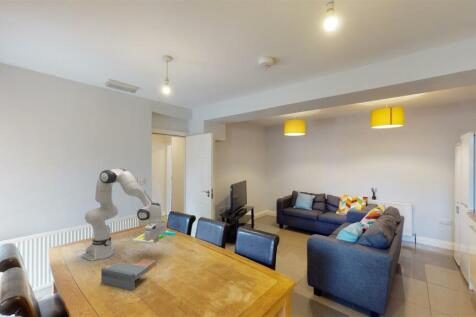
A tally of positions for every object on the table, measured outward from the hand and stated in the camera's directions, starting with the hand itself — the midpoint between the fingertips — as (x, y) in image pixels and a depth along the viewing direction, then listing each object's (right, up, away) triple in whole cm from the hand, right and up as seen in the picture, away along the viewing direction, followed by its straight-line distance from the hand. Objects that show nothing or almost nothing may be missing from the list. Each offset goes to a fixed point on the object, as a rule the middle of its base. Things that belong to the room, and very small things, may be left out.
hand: (156, 242), depth 163 cm
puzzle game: (-18, -15, +46) cm, 52 cm away
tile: (-4, -14, -12) cm, 19 cm away
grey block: (-9, -14, -27) cm, 32 cm away
